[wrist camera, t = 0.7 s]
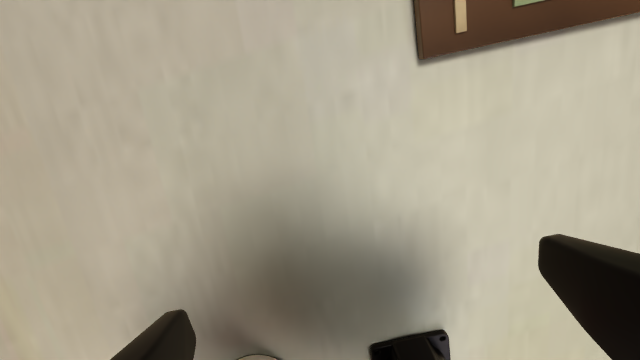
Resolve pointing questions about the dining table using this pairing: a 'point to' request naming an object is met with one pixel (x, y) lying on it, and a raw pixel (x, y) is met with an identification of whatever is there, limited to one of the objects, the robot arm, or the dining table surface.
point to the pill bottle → (257, 357)
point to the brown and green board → (503, 20)
